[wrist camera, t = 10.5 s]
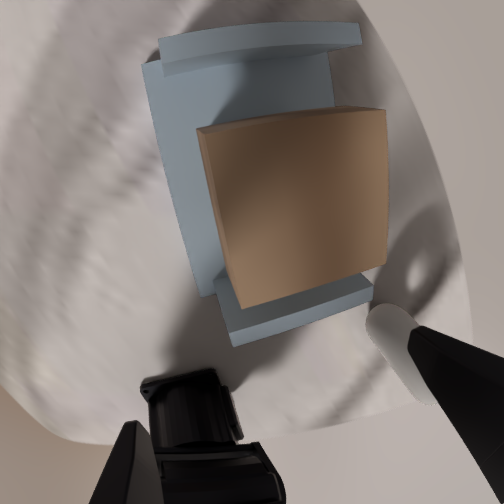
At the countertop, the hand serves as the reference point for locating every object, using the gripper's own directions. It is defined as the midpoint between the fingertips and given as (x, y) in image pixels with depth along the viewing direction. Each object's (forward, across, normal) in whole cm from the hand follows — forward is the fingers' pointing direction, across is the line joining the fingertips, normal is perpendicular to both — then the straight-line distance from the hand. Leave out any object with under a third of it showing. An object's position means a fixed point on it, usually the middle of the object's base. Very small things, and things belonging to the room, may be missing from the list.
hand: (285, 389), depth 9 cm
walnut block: (+7, -3, -4) cm, 8 cm away
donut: (+12, -12, +12) cm, 21 cm away
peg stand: (+12, -3, -4) cm, 13 cm away
